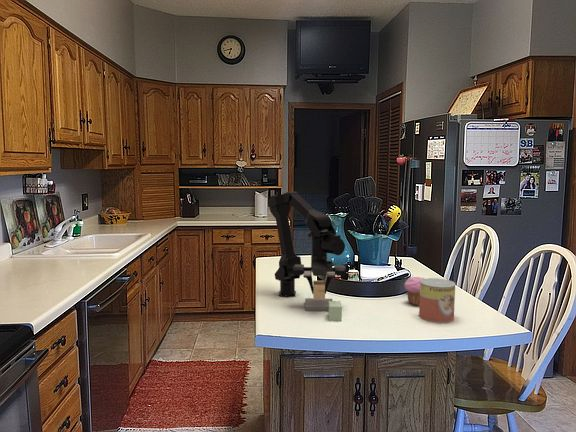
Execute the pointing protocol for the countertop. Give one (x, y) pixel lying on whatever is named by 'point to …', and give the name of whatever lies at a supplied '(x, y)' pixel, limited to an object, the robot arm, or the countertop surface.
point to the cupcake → (413, 289)
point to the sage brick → (335, 311)
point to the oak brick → (318, 290)
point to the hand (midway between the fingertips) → (318, 293)
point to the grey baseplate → (317, 304)
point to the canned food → (437, 300)
